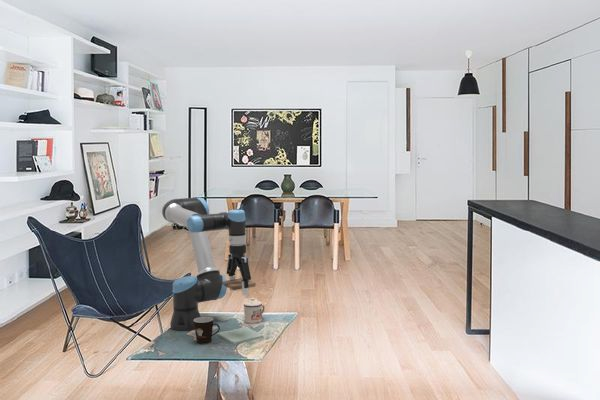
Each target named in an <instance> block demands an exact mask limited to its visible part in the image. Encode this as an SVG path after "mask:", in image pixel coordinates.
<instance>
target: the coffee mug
mask: <svg viewBox="0 0 600 400" xmlns="http://www.w3.org/2000/svg"><path fill="white" fill-rule="evenodd" d="M194 326H195V329H194V330H195V331H194V333H195V338H196V343H197V344H199V345H208V344H210V343H212V340H213V339H212V338H213V336H215V335H217V333H220V332H219V331H220V330H221V327H220V325H219V324H218V323H214V318H213V317H211V316H201V317H199V318H196V319H194ZM214 326H217V328H218V330H216V332H214V333H213V330H214V329H213V327H214Z"/></svg>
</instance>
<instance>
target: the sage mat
mask: <svg viewBox="0 0 600 400" xmlns="http://www.w3.org/2000/svg"><path fill="white" fill-rule="evenodd" d="M216 335H217V336H218V337H220V338H221V339H224V340H225V341H227V342H229V343H230V344H233V345H238V344H241V343H247V342H250V341H253V340H258V339H259V340H260V339H263V338H264V337H265V336H264V334H262V333H260V332H258V331H255V330H253V329H252V328H249V327H247V326H243V327H239V328H235V329H229V330H225V331H220V332H218V333H216Z"/></svg>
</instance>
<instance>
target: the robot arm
mask: <svg viewBox="0 0 600 400" xmlns="http://www.w3.org/2000/svg"><path fill="white" fill-rule="evenodd" d="M161 215H162V217H163V218H164V219H165V221H167V222H169V223H171V224H176V223H177V224H180V225H182V226H184V227H186V228H187V230H188V232H189V237H190V242H191V245H192V249H193V253H194V259H195V263H196V267H197V271H198V273H197V275H196V276H195V275H188V276H182V277H179V278H176V279H175V280H174V281H173V283H172V290H171V292H172V301H173V303H172V304H173V306H172V307H173V311H172V315H171V318H170V323H169V324H170V329H171V330H175V331H191V330H195V326H194V319H196V318H199V317H202V315H201V313H200V311H199V303H205V302H209V301H217V300H220V299H223V298H224V297H225V296H226V294H227V290H228V287H226V286H223V285H222V281H228V280H227V278H226V276H225V275H224V274H221V272H220V270H219V269H217V268H216V265H215V260H214V256H213V251H212V249H211V247H212V246H211V243H210V240H209V234H208V232H211V231H221V230H228V244H229V245H228V250H229V251H228V252H229V254H228V258H227V259H228V260H227V267H226V274H227V275H228V276H229V278H228V279H229V280H234V279H237V278H236V270H237V268H238V269H239V272H240V275H241V278H243V280H242V289H241V290H242V291H241V292H242V296H243V297H244V296H248V295H250V293H249V288H248V280H250V281H252V275H251V272H250V266H249V258H248V257H245V255H244V254H246V253H247V245H246V243H247V237H246V236H247V235H246V230H247V229H246V212H245V211H244V209H231V210H228V212H227V211H221V212H218V213H210V208H209V205H208V203H207V201H206V199H204V198H202V197H186V198H173V199H170V200H169V201H166V203H165V204H164V205H163V207H162V211H161ZM229 291H232V292H233V290H232V289H230V288H229Z"/></svg>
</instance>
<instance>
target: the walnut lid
mask: <svg viewBox="0 0 600 400" xmlns="http://www.w3.org/2000/svg"><path fill="white" fill-rule="evenodd" d="M242 280H243V278H242V277H241V278H236V279H234V280H230V279H229V280H227V281H222V285H223V286H226V287H227V289H229V290H230V289H232V291H237V290H242ZM255 287H256V282H254V281H252V280H248V289H249V288H255Z"/></svg>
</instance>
